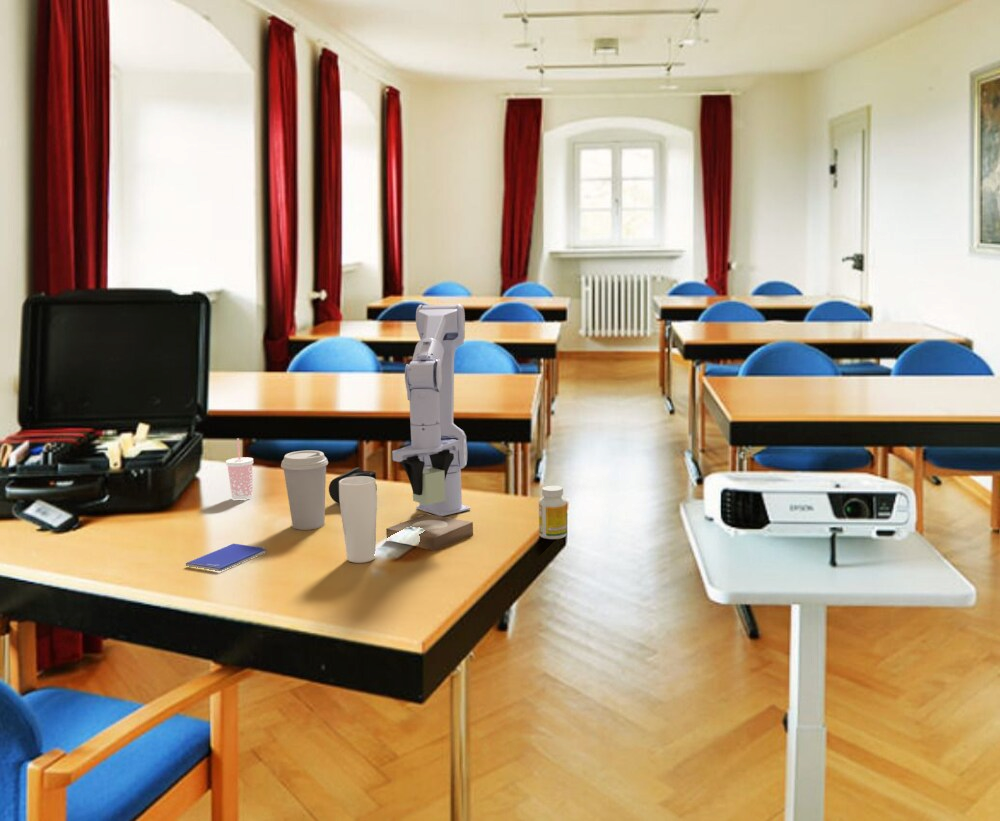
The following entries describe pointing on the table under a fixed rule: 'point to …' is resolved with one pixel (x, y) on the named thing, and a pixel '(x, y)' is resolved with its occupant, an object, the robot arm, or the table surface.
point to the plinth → (436, 530)
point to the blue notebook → (226, 557)
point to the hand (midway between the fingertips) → (428, 491)
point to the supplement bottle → (552, 513)
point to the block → (432, 487)
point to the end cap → (355, 472)
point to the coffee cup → (306, 488)
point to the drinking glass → (359, 517)
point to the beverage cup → (240, 476)
